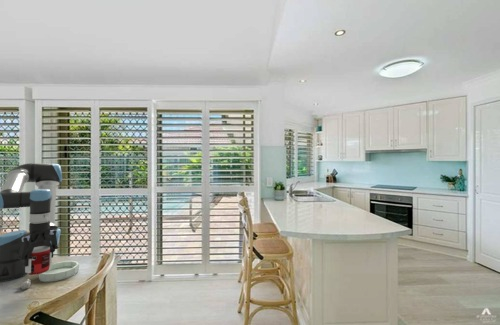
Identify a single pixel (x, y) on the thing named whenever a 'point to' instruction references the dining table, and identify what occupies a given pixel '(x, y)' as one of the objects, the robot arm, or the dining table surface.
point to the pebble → (25, 284)
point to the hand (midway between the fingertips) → (38, 268)
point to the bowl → (60, 271)
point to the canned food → (40, 260)
